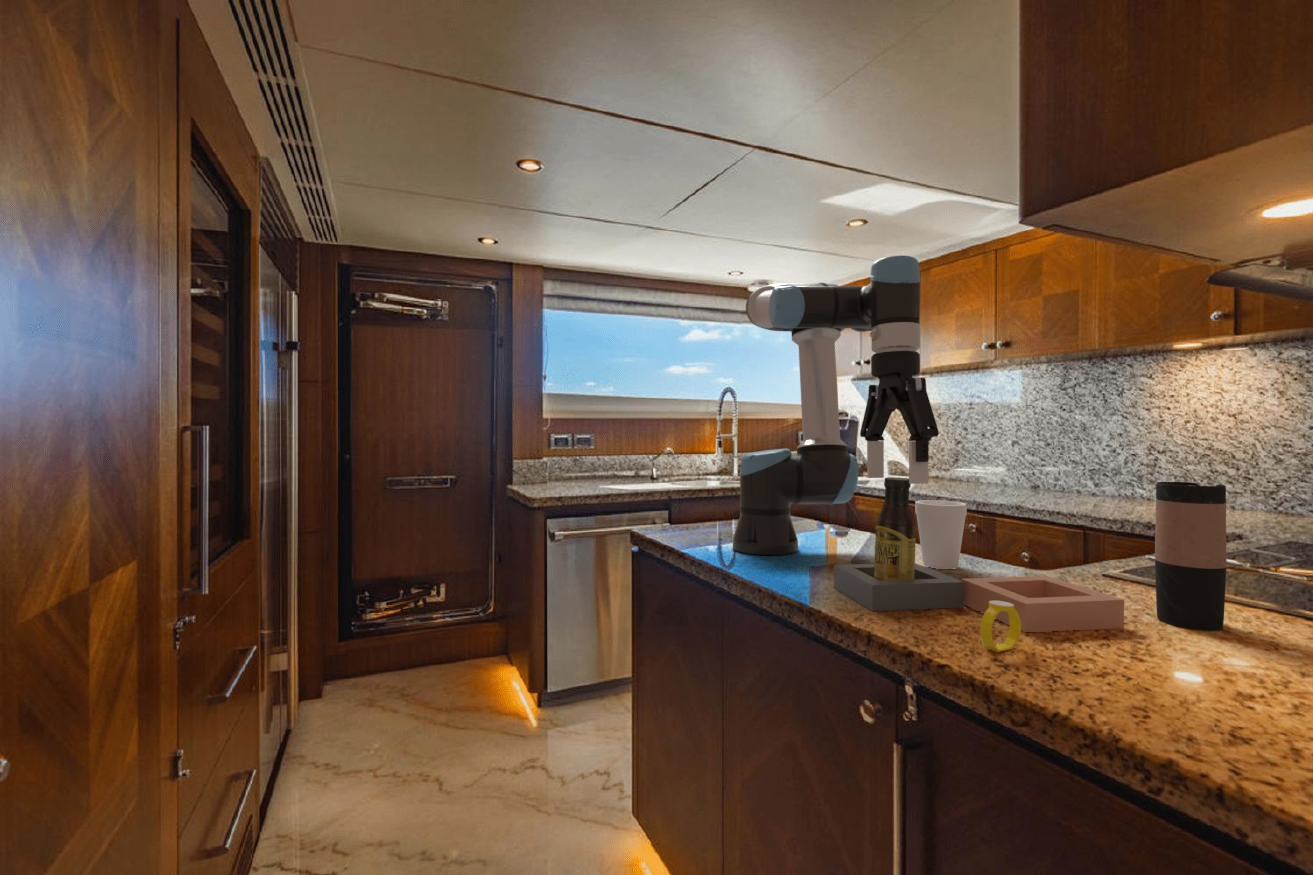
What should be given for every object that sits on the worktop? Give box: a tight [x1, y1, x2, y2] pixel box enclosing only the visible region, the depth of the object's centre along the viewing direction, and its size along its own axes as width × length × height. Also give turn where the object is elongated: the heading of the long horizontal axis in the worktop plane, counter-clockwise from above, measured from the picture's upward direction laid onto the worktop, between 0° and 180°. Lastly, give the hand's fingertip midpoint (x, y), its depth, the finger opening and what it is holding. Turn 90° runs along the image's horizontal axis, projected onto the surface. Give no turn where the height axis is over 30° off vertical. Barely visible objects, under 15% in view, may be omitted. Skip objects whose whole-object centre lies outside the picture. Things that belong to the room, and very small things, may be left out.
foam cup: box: [914, 499, 968, 570], centre depth 121 cm, size 10×9×13 cm
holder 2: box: [960, 575, 1125, 633], centre depth 89 cm, size 14×15×4 cm
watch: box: [979, 601, 1022, 653], centre depth 75 cm, size 6×3×6 cm, turn 115°
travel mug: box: [1154, 481, 1227, 632], centre depth 85 cm, size 8×8×20 cm
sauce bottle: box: [874, 476, 917, 581], centre depth 99 cm, size 7×6×20 cm
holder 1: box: [833, 562, 964, 612], centre depth 99 cm, size 14×15×4 cm
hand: (895, 480), depth 99 cm, fingers open, 13 cm apart
